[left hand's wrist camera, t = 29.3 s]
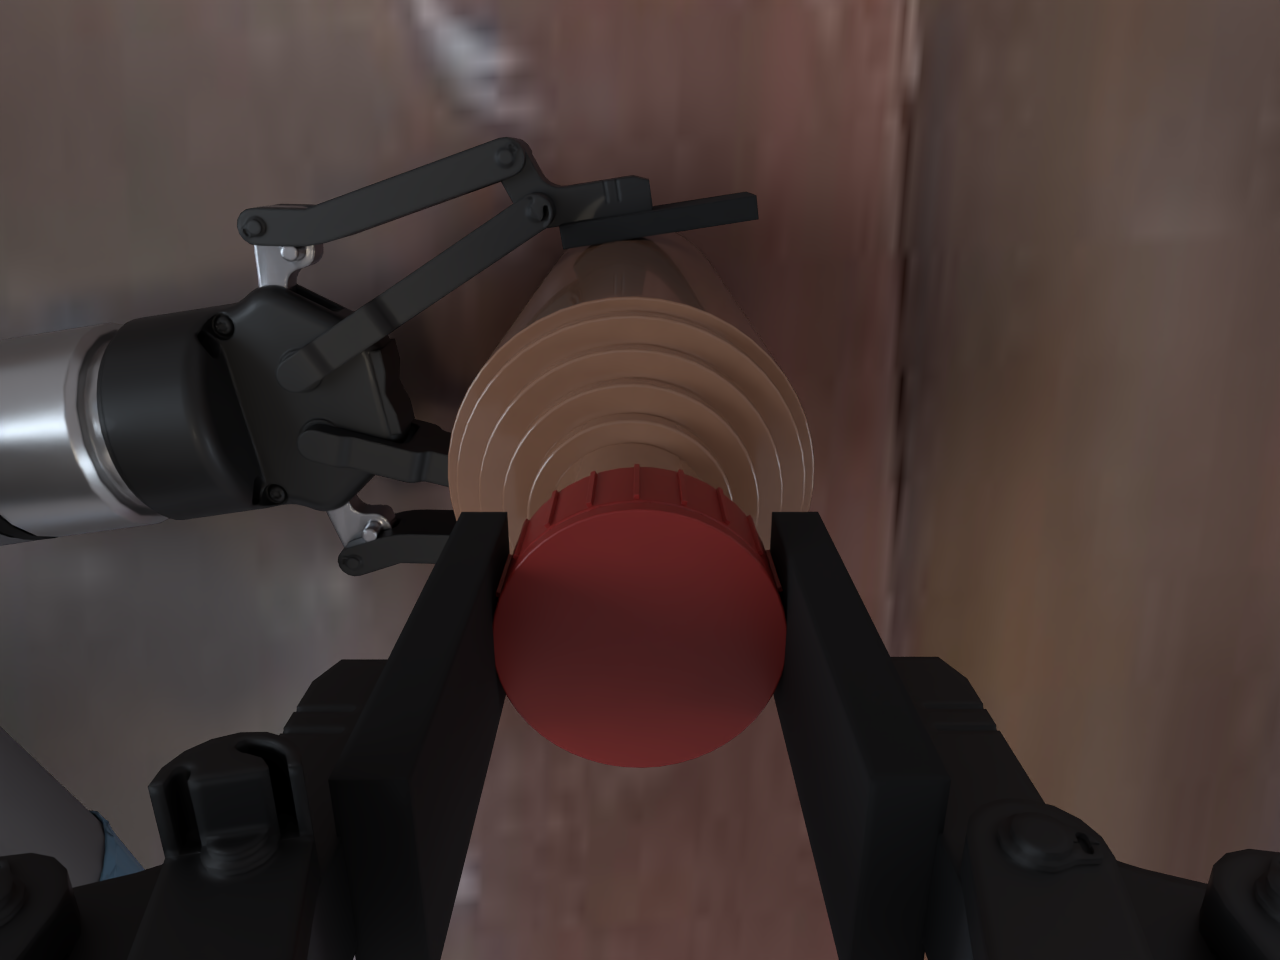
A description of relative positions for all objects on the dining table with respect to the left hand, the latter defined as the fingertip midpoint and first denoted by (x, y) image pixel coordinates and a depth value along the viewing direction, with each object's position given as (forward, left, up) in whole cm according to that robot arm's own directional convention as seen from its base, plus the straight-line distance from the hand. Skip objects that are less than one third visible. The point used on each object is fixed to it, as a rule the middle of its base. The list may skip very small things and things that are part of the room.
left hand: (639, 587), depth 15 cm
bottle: (0, 0, -24) cm, 24 cm away
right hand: (-4, -2, -18) cm, 19 cm away
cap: (0, 0, +2) cm, 2 cm away
